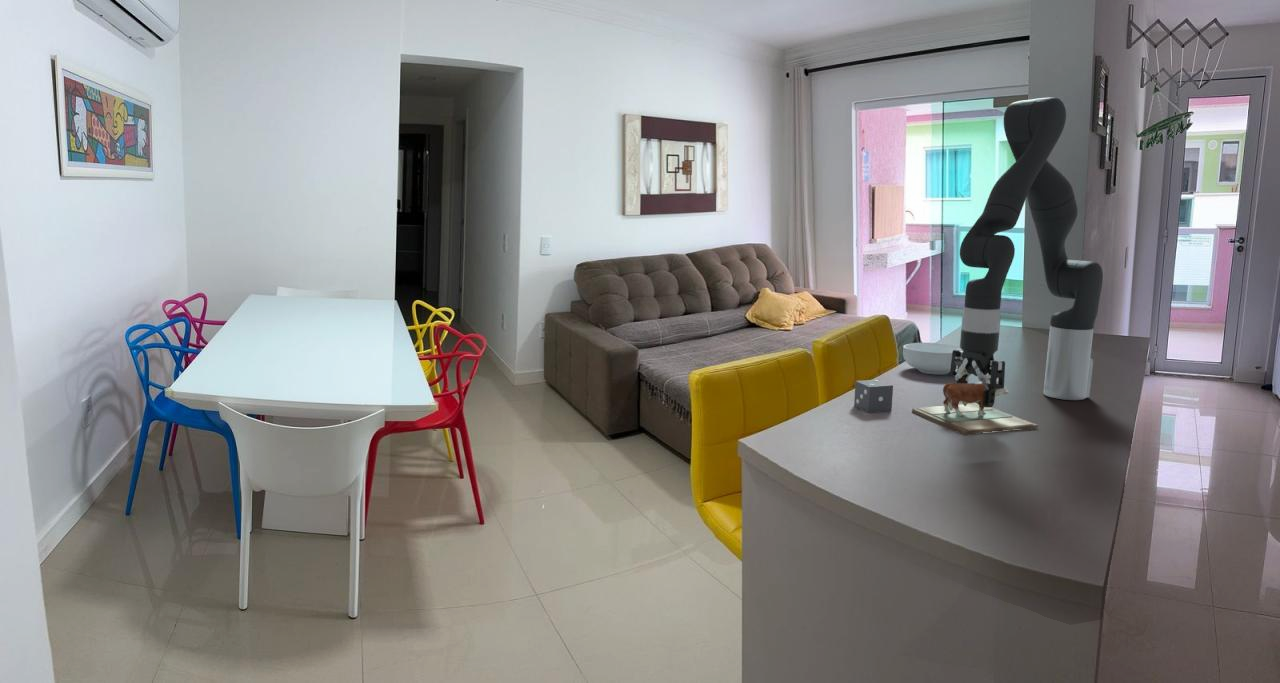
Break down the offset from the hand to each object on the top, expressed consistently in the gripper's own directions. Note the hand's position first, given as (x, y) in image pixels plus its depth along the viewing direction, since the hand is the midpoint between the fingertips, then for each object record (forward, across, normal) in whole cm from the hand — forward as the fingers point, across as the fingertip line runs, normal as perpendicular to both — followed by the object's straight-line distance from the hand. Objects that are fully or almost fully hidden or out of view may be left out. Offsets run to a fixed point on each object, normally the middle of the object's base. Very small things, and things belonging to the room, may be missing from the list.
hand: (974, 401), depth 168 cm
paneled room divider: (+4, 0, 0) cm, 4 cm away
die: (+4, +14, +16) cm, 22 cm away
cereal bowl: (+4, +44, -22) cm, 49 cm away
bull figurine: (+3, 0, 0) cm, 3 cm away
